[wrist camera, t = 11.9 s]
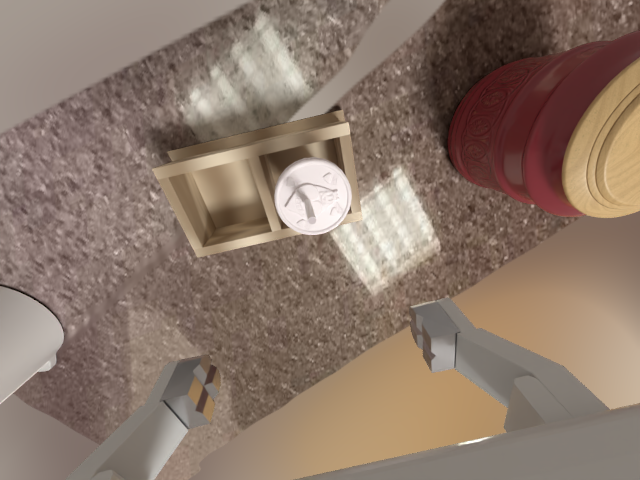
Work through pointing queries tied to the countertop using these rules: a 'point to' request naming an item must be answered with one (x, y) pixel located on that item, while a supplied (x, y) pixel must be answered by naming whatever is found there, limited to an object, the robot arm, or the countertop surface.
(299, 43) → the countertop surface
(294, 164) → the smoothie
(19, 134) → the countertop surface
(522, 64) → the canister
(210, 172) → the wooden divided tray
